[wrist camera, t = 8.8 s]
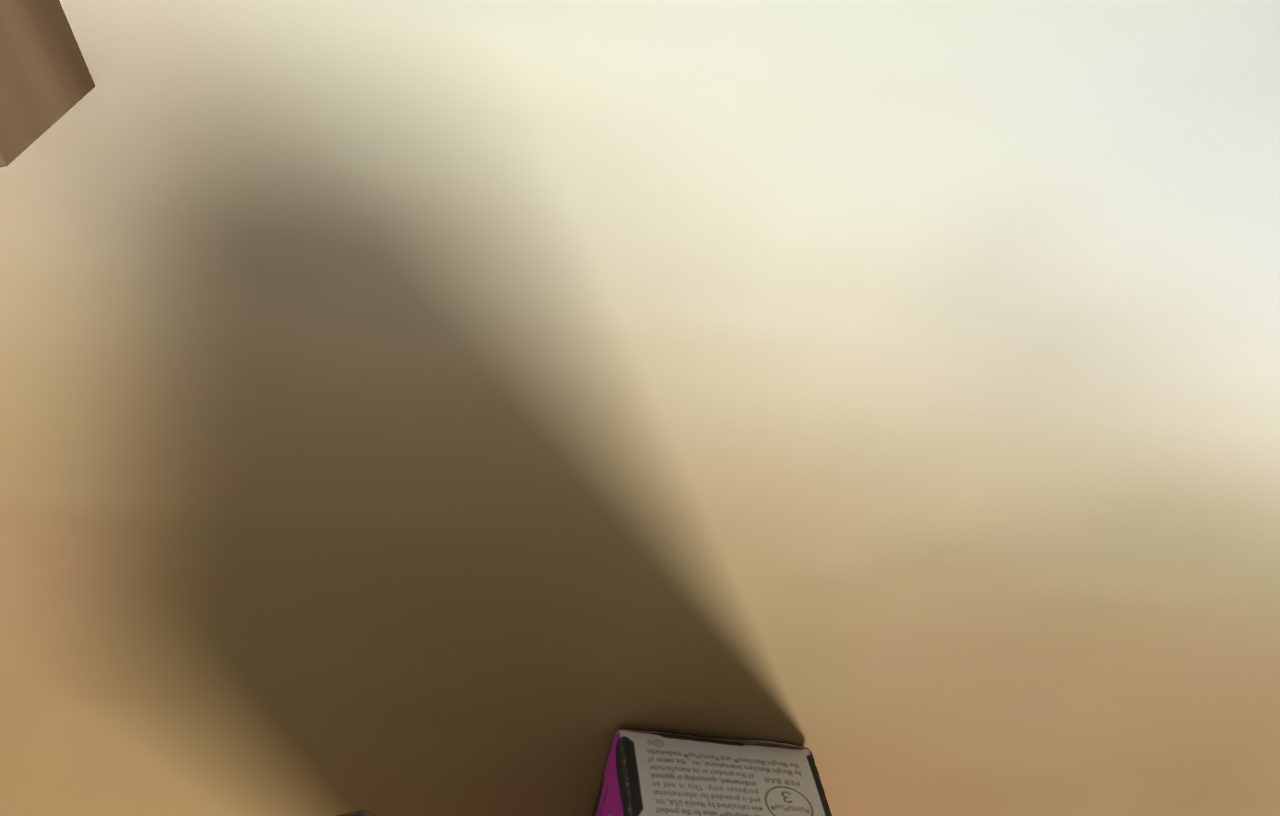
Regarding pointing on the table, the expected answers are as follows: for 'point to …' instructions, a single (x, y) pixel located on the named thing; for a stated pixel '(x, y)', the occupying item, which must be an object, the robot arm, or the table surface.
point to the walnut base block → (36, 72)
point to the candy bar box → (708, 777)
